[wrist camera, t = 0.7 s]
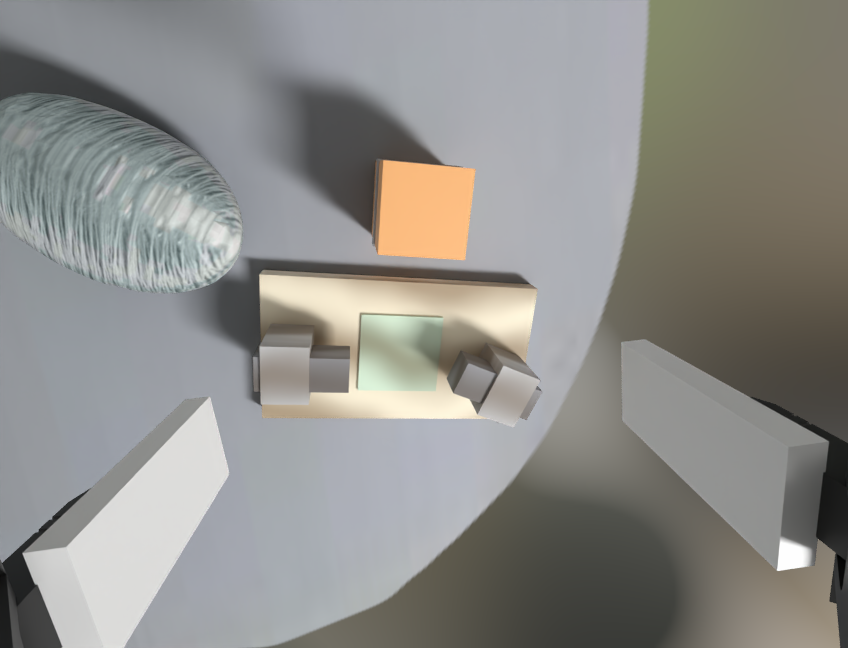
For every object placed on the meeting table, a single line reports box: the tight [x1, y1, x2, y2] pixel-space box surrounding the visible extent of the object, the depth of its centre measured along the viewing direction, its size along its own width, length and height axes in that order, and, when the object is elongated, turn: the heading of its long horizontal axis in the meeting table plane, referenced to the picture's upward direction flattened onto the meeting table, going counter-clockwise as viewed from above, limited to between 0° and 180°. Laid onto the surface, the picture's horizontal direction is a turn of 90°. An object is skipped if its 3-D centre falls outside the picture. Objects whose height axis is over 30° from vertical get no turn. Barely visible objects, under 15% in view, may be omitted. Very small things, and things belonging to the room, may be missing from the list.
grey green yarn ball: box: [0, 93, 243, 293], centre depth 27 cm, size 14×10×10 cm
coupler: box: [372, 159, 475, 260], centre depth 30 cm, size 5×5×8 cm
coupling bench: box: [253, 270, 542, 428], centre depth 34 cm, size 11×20×6 cm, turn 85°
